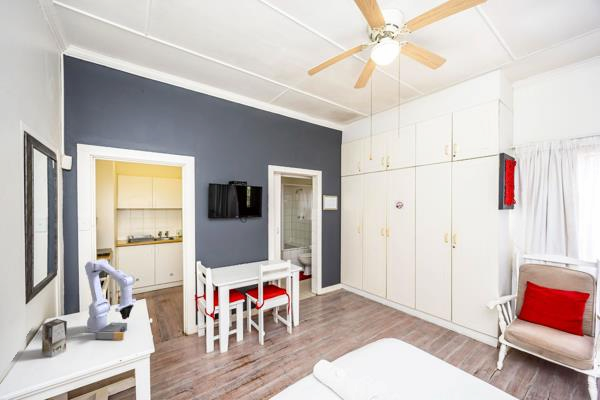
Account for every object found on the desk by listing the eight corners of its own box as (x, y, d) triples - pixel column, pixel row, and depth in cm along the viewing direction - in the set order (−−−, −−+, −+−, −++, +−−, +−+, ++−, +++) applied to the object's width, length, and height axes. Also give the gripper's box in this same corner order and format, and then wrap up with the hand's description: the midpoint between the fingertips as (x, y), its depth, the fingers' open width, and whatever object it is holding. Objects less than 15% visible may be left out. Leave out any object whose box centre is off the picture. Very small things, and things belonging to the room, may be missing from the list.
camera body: (98, 338, 144) (98, 330, 144) (111, 329, 154) (111, 321, 154) (115, 338, 144) (115, 330, 144) (128, 330, 154) (128, 322, 154)
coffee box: (66, 350, 132) (67, 321, 132) (51, 357, 126) (52, 326, 126) (56, 347, 135) (57, 318, 135) (41, 353, 129) (41, 323, 129)
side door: (95, 338, 143) (95, 332, 143) (97, 337, 144) (97, 331, 144) (122, 339, 143) (122, 333, 143) (124, 338, 144) (124, 332, 144)
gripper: (123, 301, 143) (123, 324, 143) (140, 292, 157) (140, 313, 157) (112, 300, 143) (111, 323, 143) (129, 291, 158) (129, 312, 157)
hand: (125, 318), depth 150 cm, fingers closed
